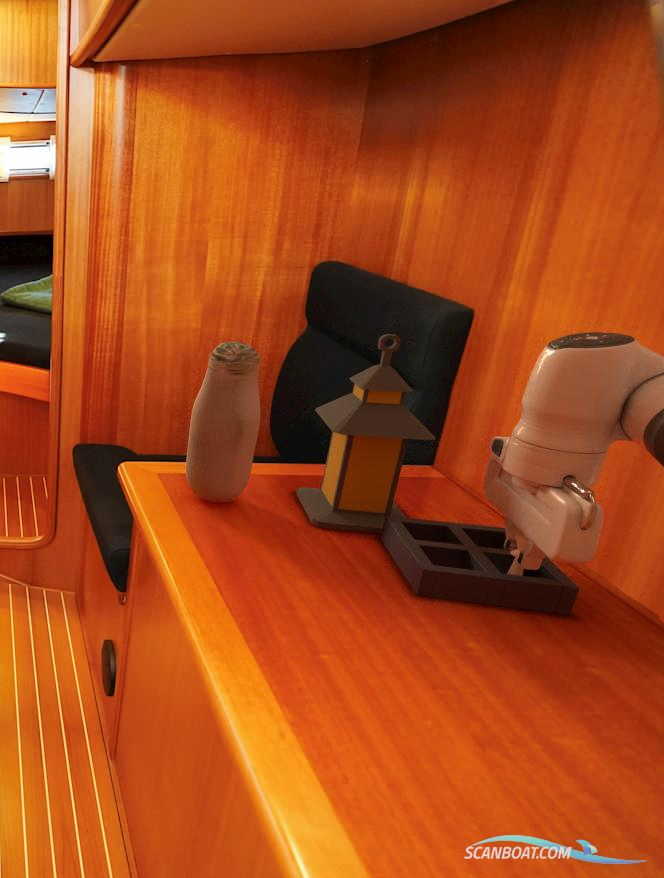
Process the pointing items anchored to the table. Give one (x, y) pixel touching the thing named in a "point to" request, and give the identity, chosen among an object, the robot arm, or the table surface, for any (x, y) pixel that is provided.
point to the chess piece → (522, 546)
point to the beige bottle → (224, 424)
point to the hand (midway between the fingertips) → (520, 559)
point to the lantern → (364, 450)
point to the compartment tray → (472, 566)
